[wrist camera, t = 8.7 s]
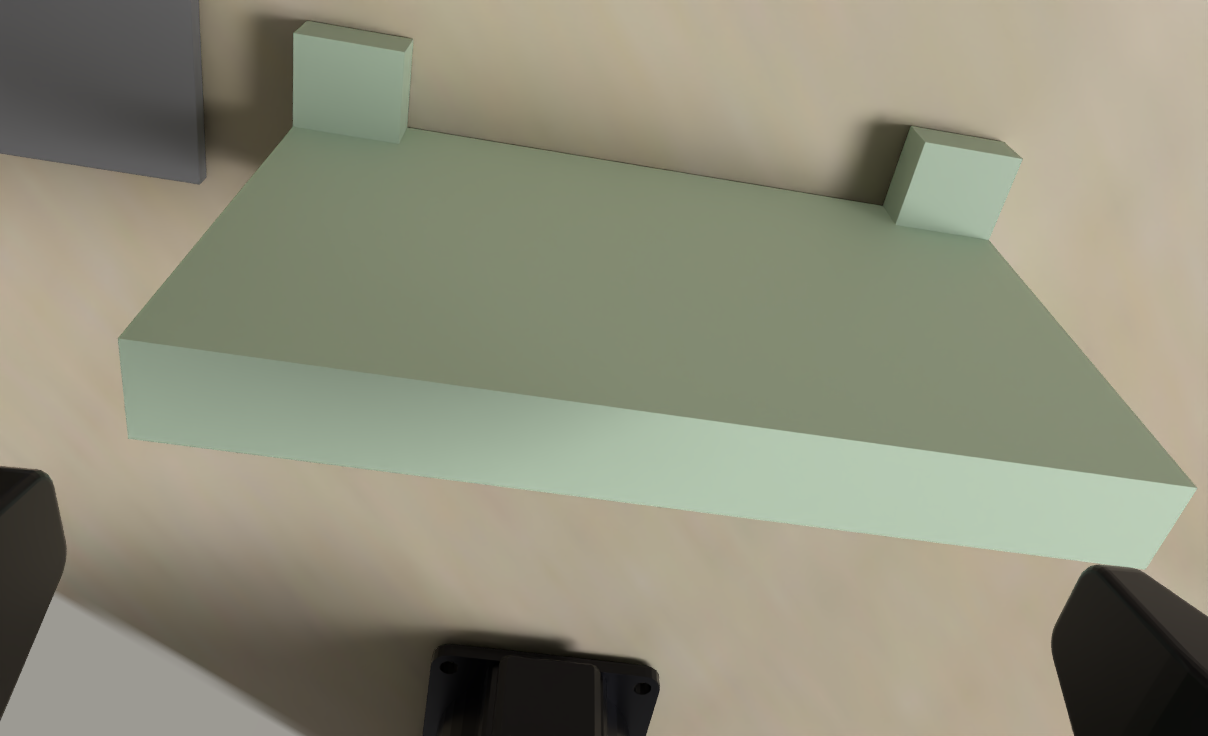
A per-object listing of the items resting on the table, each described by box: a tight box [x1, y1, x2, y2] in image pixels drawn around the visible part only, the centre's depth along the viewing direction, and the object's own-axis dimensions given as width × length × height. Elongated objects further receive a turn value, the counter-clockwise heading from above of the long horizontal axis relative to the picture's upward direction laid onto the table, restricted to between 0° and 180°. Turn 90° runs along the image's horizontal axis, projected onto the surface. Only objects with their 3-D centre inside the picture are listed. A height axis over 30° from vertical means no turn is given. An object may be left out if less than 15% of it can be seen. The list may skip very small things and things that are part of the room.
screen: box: [118, 21, 1197, 569], centre depth 16 cm, size 5×14×9 cm, turn 80°
